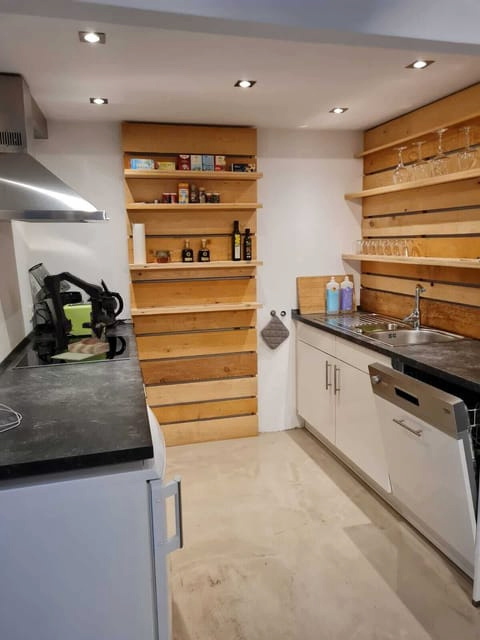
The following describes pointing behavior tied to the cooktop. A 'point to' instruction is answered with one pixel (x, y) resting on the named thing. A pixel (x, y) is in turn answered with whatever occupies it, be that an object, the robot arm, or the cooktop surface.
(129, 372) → the cooktop surface
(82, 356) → the sage mat
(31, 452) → the cooktop surface
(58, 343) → the robot arm
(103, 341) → the coffee box
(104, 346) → the birch riser
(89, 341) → the walnut tile
